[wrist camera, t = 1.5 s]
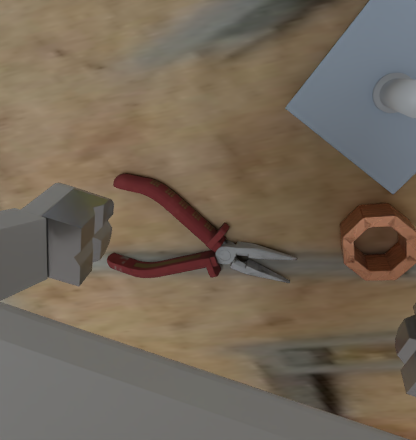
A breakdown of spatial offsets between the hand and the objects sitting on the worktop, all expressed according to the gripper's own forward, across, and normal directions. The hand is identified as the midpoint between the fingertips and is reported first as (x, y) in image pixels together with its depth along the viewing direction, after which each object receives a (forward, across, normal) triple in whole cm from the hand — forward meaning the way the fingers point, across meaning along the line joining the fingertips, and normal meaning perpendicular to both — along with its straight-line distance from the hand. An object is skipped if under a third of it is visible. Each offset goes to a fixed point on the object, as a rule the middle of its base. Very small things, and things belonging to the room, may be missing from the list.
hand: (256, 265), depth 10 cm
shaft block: (+28, +8, 0) cm, 29 cm away
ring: (+25, +12, -12) cm, 30 cm away
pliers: (+26, -5, -20) cm, 33 cm away
